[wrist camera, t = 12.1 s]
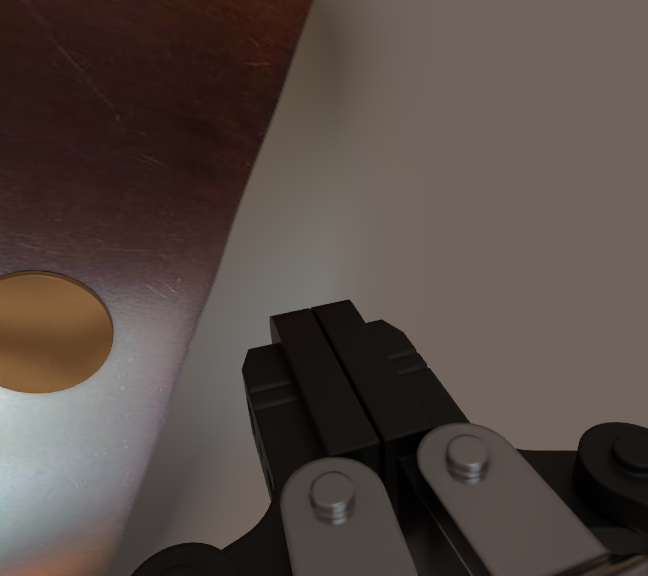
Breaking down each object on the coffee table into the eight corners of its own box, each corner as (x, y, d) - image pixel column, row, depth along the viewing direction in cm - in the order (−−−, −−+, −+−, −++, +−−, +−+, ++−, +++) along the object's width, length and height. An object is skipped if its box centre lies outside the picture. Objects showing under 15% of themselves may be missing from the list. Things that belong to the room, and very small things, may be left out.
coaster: (-66, 287, 35) (-68, 292, 34) (92, 257, 37) (92, 262, 36) (-11, 402, 39) (-13, 407, 39) (127, 370, 41) (127, 375, 41)
